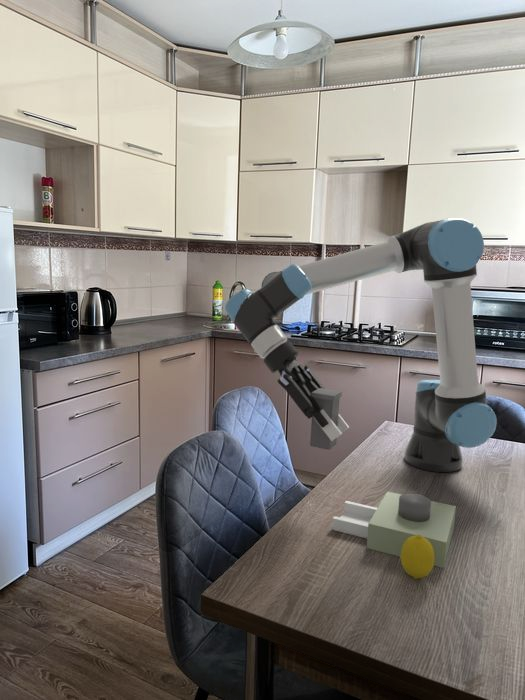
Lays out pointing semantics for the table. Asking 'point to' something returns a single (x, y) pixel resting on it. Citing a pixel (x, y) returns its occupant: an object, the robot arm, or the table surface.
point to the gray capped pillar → (331, 407)
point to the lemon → (417, 556)
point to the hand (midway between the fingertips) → (340, 433)
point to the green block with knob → (400, 523)
